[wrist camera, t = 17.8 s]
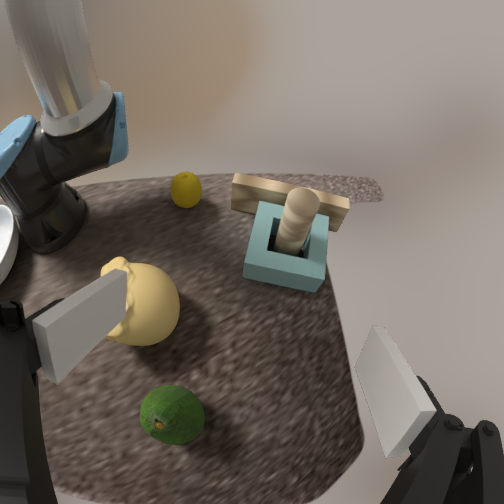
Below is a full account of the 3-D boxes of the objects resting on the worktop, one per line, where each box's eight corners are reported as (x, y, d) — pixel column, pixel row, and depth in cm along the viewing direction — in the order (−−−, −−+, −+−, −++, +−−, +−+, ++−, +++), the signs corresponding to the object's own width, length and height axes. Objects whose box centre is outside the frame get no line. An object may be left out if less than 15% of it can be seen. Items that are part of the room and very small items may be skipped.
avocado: (142, 416, 33) (110, 419, 23) (172, 376, 37) (152, 365, 27) (188, 450, 32) (172, 467, 21) (219, 409, 35) (215, 411, 25)
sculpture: (112, 284, 43) (86, 250, 34) (181, 278, 45) (170, 242, 36) (110, 352, 38) (78, 334, 28) (186, 349, 39) (173, 330, 30)
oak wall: (231, 208, 53) (232, 182, 47) (234, 199, 54) (235, 172, 48) (336, 232, 52) (349, 208, 46) (336, 222, 53) (349, 198, 47)
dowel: (270, 262, 48) (285, 208, 36) (274, 240, 50) (289, 184, 38) (295, 267, 48) (319, 216, 35) (298, 246, 50) (320, 192, 38)
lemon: (190, 221, 51) (186, 191, 44) (167, 208, 52) (161, 178, 45) (208, 201, 53) (207, 170, 46) (186, 189, 54) (182, 159, 47)
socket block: (242, 277, 46) (244, 262, 42) (256, 218, 52) (259, 200, 48) (315, 292, 45) (324, 279, 41) (320, 232, 52) (328, 216, 47)
